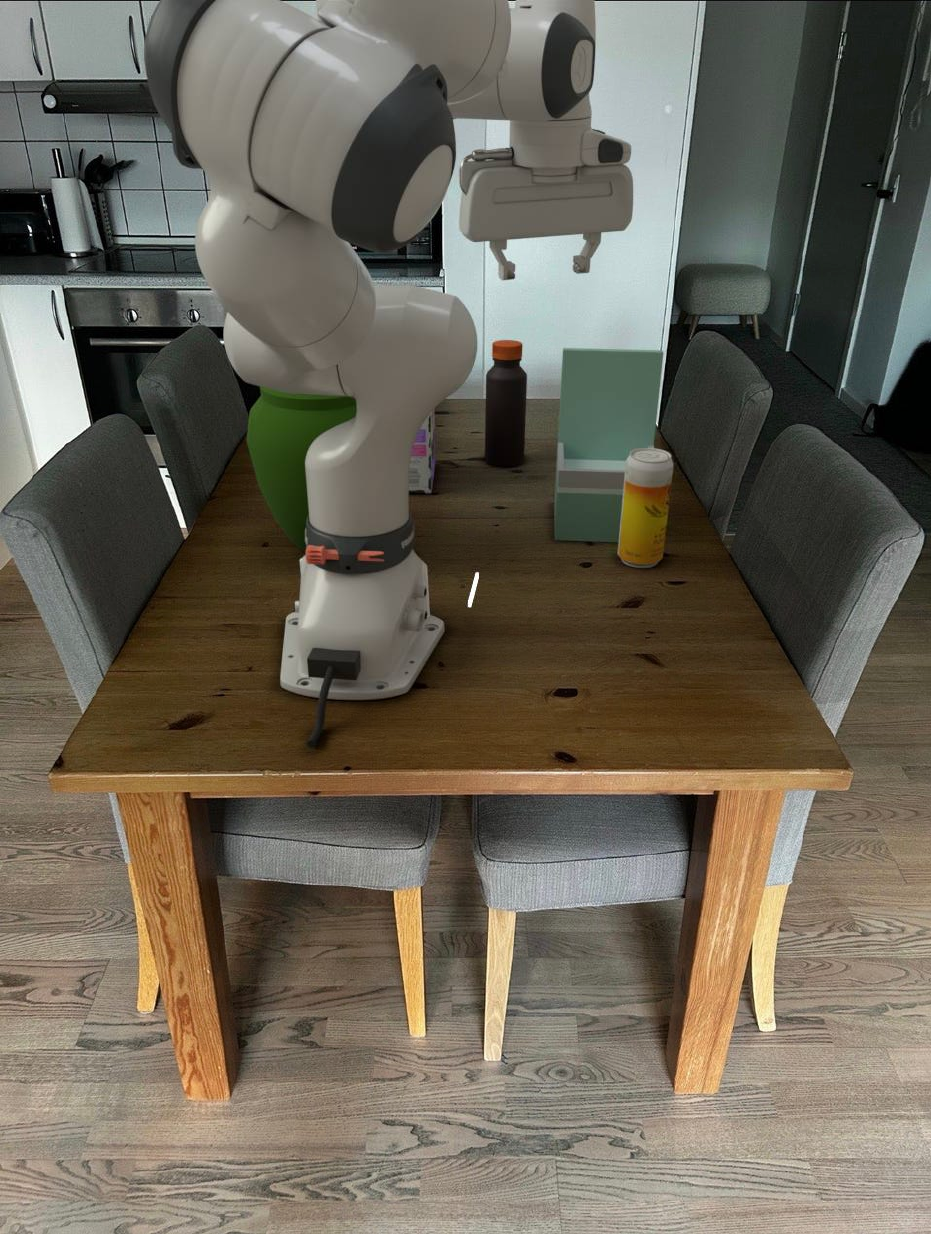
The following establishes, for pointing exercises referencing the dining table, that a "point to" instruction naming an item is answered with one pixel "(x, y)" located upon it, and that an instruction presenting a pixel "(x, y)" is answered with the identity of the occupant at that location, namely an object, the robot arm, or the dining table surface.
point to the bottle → (505, 405)
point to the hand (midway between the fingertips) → (544, 275)
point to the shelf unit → (601, 435)
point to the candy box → (423, 458)
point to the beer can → (645, 507)
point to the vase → (290, 449)
